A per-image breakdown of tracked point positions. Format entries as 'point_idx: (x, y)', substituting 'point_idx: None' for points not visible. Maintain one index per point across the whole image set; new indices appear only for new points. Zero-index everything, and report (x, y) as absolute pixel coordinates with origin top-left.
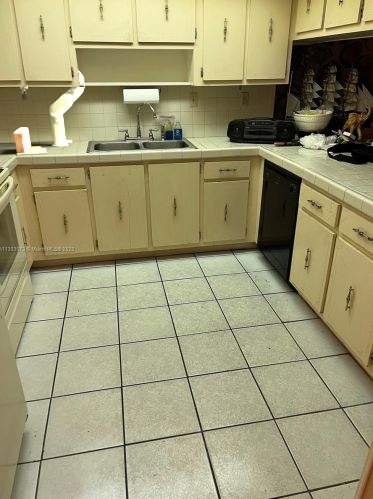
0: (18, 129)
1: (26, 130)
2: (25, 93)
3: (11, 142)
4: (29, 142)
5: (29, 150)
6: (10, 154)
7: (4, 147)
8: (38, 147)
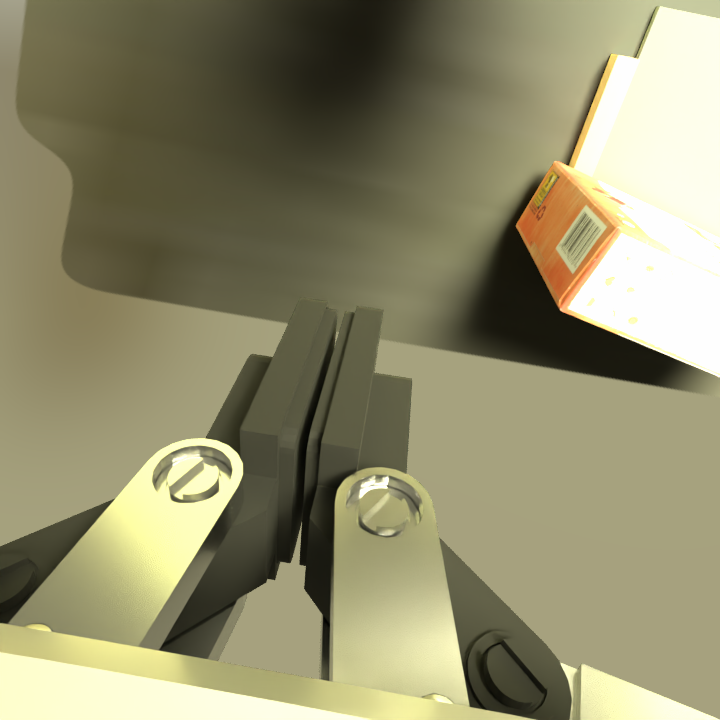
0: (681, 352)
1: (710, 262)
2: (389, 507)
3: (82, 238)
4: (615, 192)
5: (691, 206)
6: None
7: None
8: (624, 91)
